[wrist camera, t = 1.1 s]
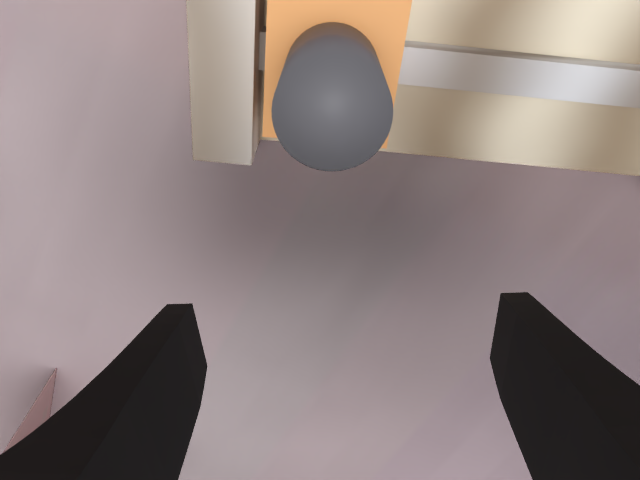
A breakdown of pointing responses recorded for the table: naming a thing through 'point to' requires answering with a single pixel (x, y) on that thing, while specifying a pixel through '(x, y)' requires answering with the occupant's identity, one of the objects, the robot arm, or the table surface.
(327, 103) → the carriage
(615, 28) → the rail
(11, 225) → the table surface
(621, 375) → the robot arm
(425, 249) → the table surface
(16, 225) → the table surface
